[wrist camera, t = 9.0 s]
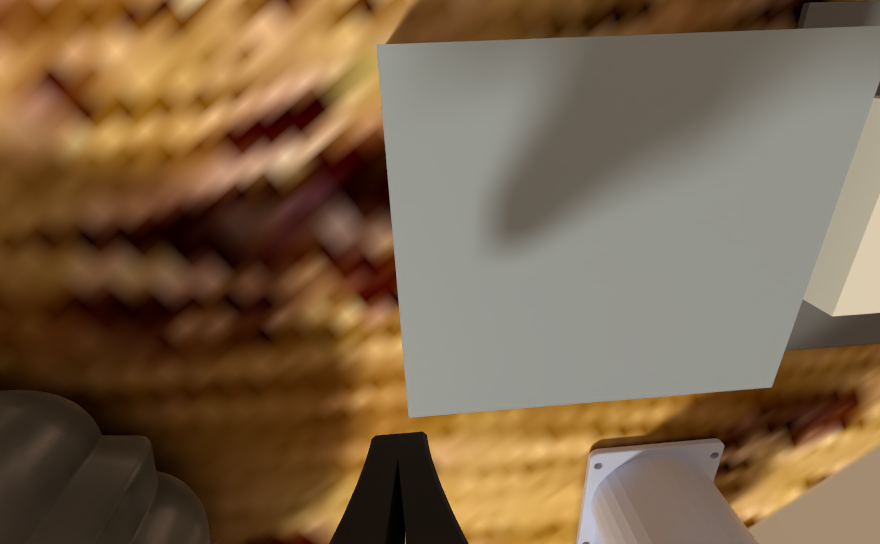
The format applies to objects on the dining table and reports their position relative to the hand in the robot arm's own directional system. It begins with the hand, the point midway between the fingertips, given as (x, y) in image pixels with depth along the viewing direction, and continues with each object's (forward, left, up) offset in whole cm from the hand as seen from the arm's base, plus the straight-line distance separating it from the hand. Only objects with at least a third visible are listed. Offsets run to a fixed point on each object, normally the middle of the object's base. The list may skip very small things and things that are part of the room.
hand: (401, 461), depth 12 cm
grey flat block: (+3, -8, -10) cm, 13 cm away
